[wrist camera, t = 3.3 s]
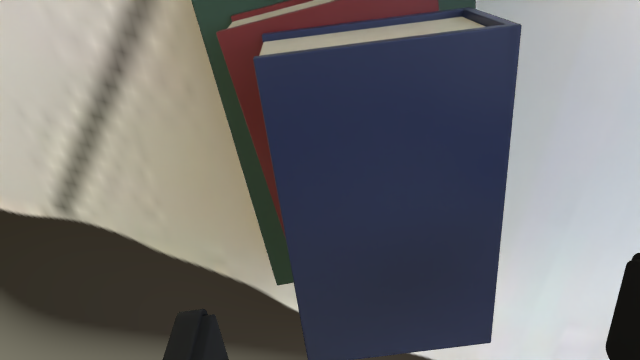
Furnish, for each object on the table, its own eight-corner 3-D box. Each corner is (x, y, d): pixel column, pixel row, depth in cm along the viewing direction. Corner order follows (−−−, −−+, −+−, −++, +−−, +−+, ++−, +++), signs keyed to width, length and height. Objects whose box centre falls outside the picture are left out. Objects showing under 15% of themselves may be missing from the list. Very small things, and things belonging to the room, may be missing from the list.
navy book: (469, 6, 14) (522, 24, 11) (458, 277, 19) (491, 343, 16) (262, 33, 14) (252, 58, 11) (306, 295, 19) (308, 365, 16)
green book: (444, -94, 19) (473, -101, 16) (458, 214, 27) (479, 249, 23) (197, -41, 20) (179, -39, 16) (279, 246, 27) (277, 285, 24)
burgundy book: (406, -31, 17) (435, -26, 13) (441, 238, 23) (468, 290, 19) (231, 15, 17) (215, 32, 14) (311, 267, 23) (314, 324, 20)
